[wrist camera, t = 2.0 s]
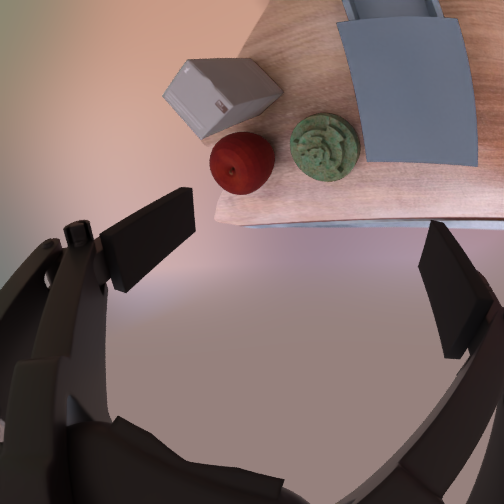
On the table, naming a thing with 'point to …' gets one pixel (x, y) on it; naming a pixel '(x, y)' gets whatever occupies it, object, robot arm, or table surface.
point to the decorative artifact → (325, 147)
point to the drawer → (391, 8)
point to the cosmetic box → (220, 93)
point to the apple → (242, 162)
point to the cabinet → (412, 89)
